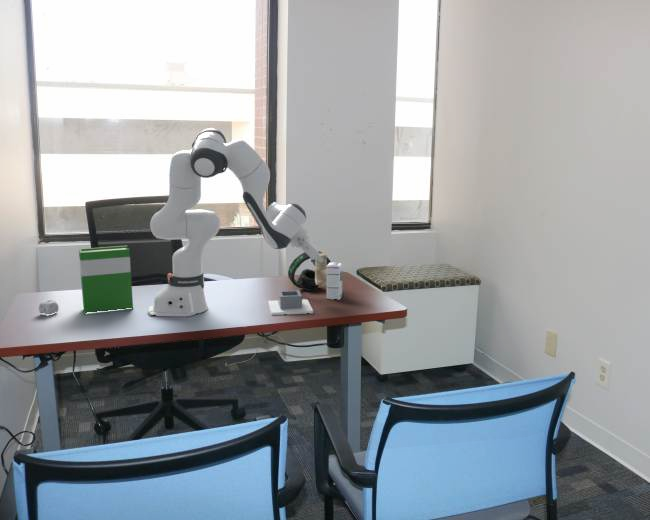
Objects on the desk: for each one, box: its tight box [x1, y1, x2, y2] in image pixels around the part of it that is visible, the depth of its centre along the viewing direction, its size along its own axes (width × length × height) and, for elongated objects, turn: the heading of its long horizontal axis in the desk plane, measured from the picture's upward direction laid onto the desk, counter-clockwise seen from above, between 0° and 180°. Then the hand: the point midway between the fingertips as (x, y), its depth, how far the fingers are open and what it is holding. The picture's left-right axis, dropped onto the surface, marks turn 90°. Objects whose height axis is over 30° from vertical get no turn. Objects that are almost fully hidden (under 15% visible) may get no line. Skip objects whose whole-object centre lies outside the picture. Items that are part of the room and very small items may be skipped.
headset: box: [287, 250, 332, 292], centre depth 274 cm, size 18×14×29 cm
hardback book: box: [78, 245, 134, 314], centre depth 240 cm, size 18×7×24 cm, turn 114°
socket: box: [267, 289, 314, 316], centre depth 245 cm, size 16×16×6 cm
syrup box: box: [326, 262, 343, 301], centre depth 259 cm, size 6×6×14 cm
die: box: [38, 299, 60, 314], centre depth 236 cm, size 5×5×5 cm
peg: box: [314, 252, 328, 286], centre depth 249 cm, size 4×4×12 cm
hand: (321, 259), depth 248 cm, fingers closed on peg, 4 cm apart
